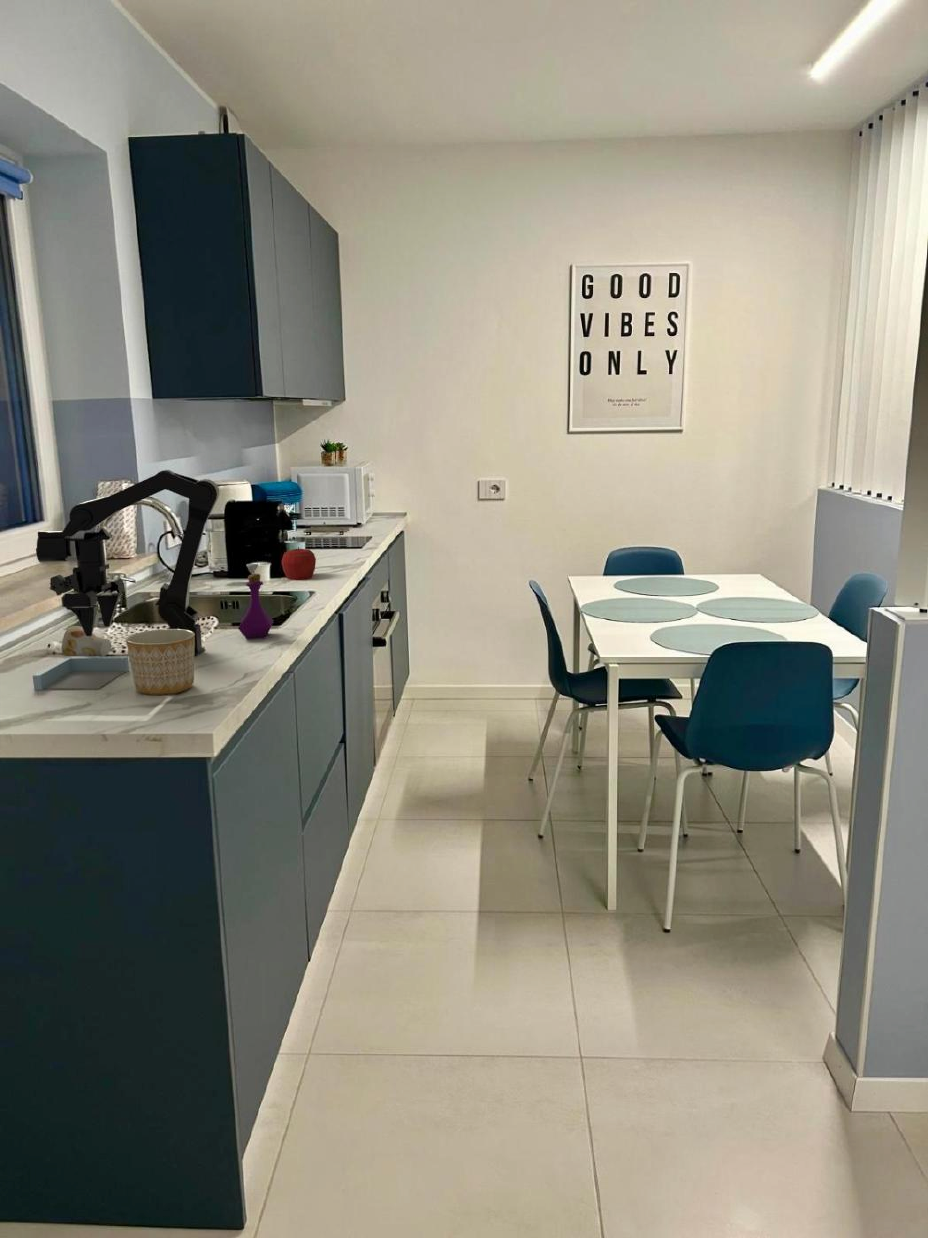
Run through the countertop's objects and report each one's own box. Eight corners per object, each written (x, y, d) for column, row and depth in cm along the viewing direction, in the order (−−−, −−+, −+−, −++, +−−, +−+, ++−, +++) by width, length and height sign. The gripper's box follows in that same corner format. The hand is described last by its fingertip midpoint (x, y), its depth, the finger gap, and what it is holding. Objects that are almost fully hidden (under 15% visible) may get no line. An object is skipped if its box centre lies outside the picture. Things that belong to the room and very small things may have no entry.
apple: (284, 580, 301) (282, 544, 298) (317, 579, 302) (315, 543, 299) (281, 586, 290) (279, 549, 287) (316, 585, 291) (314, 548, 289)
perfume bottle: (243, 634, 227) (238, 561, 223) (274, 633, 227) (270, 560, 223) (238, 641, 219) (233, 566, 216) (271, 640, 220) (266, 565, 216)
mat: (123, 672, 194) (123, 671, 194) (98, 689, 182) (98, 688, 182) (74, 672, 195) (73, 671, 194) (45, 689, 183) (45, 688, 183)
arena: (129, 670, 196) (127, 656, 195) (99, 690, 182) (98, 675, 181) (68, 670, 196) (66, 656, 196) (34, 690, 182) (32, 675, 182)
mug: (108, 660, 202) (76, 625, 198) (78, 679, 205) (46, 645, 202) (124, 642, 208) (92, 608, 204) (94, 661, 212) (63, 628, 208)
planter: (125, 685, 185) (120, 633, 183) (190, 675, 191) (186, 626, 189) (137, 701, 174) (132, 647, 172) (205, 691, 180) (201, 638, 178)
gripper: (74, 554, 211) (81, 622, 215) (33, 568, 193) (41, 641, 196) (122, 554, 211) (128, 621, 214) (85, 567, 192) (93, 641, 196)
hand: (98, 631), depth 205 cm, fingers open, 9 cm apart
